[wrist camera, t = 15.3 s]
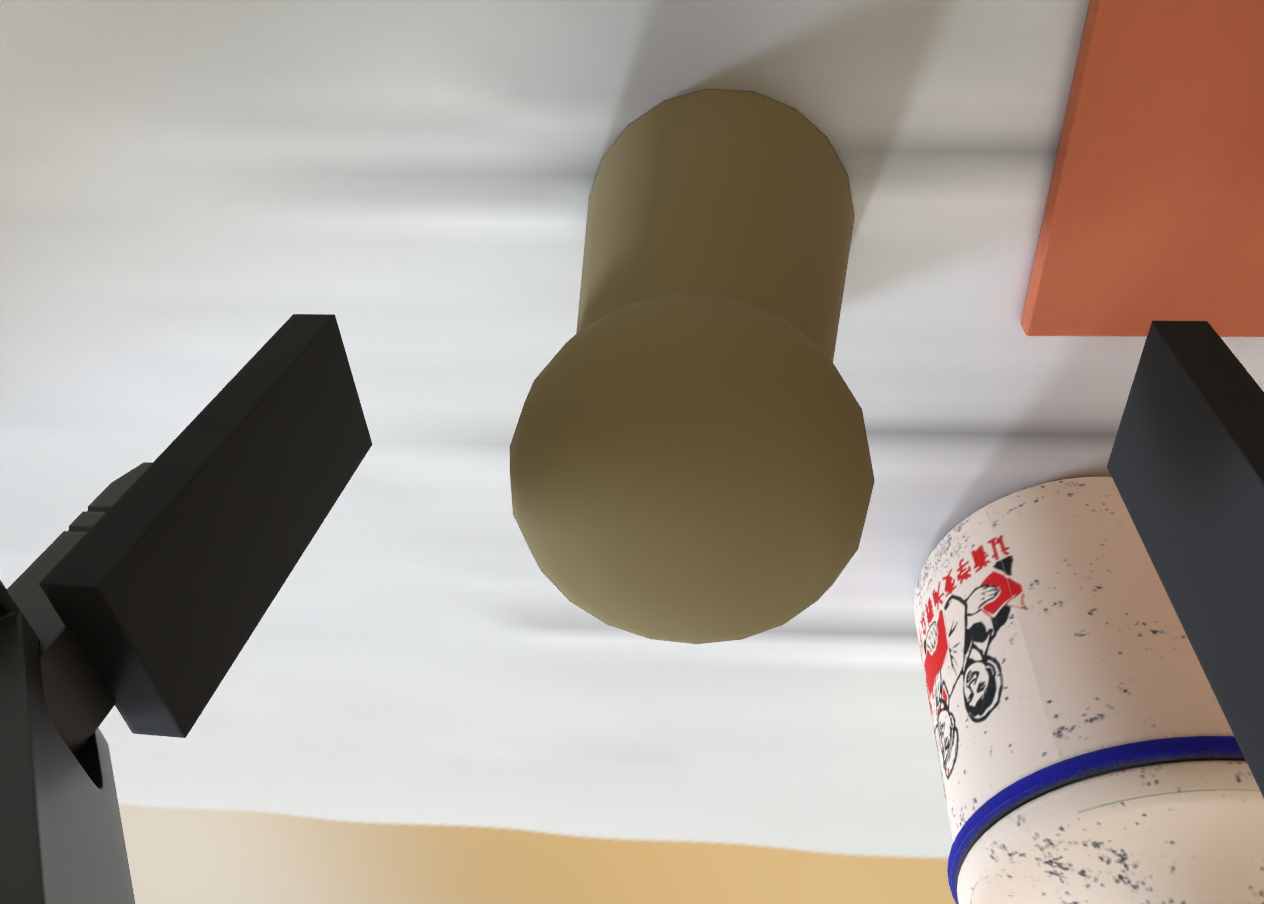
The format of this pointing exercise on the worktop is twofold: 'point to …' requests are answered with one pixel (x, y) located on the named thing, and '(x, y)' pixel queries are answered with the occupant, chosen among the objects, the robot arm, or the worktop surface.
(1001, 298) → the worktop surface
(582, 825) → the worktop surface
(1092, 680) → the teacup with lid
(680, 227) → the olive rounded bottle shape
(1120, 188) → the terracotta mat
